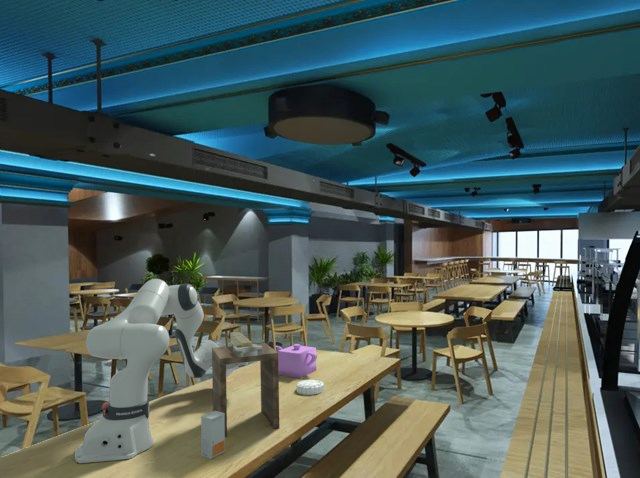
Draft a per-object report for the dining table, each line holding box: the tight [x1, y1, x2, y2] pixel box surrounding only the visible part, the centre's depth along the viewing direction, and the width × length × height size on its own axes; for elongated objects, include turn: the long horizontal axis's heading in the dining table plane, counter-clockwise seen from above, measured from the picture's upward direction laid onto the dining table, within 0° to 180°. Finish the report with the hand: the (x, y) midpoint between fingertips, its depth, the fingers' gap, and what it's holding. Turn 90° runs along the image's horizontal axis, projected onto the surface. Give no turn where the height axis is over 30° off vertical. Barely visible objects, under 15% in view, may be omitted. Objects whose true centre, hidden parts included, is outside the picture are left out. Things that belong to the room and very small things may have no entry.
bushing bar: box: [230, 331, 253, 348], centre depth 170 cm, size 4×22×4 cm, turn 21°
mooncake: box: [296, 379, 325, 396], centre depth 201 cm, size 12×12×4 cm
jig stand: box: [211, 342, 280, 438], centre depth 164 cm, size 20×19×29 cm
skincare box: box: [200, 411, 226, 460], centre depth 140 cm, size 6×4×12 cm
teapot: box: [274, 343, 318, 379], centre depth 230 cm, size 15×25×14 cm, turn 59°
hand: (231, 349), depth 187 cm, fingers open, 8 cm apart
